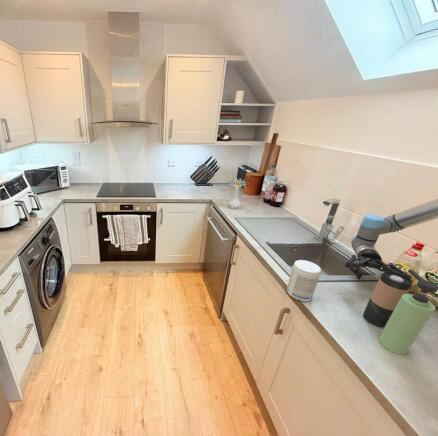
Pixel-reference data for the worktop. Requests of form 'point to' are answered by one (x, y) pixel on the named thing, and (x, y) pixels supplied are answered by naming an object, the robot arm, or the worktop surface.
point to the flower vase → (236, 192)
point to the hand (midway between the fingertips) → (382, 282)
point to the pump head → (424, 283)
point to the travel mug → (386, 297)
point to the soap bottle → (406, 323)
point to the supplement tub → (303, 280)
